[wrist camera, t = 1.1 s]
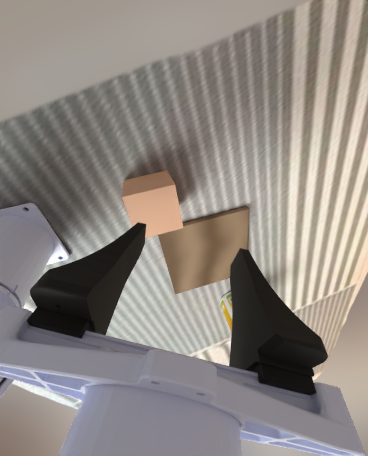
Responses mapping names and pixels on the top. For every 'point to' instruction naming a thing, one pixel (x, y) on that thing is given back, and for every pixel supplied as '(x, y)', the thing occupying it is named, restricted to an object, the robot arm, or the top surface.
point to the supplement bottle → (227, 307)
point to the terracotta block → (153, 203)
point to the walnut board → (204, 248)
